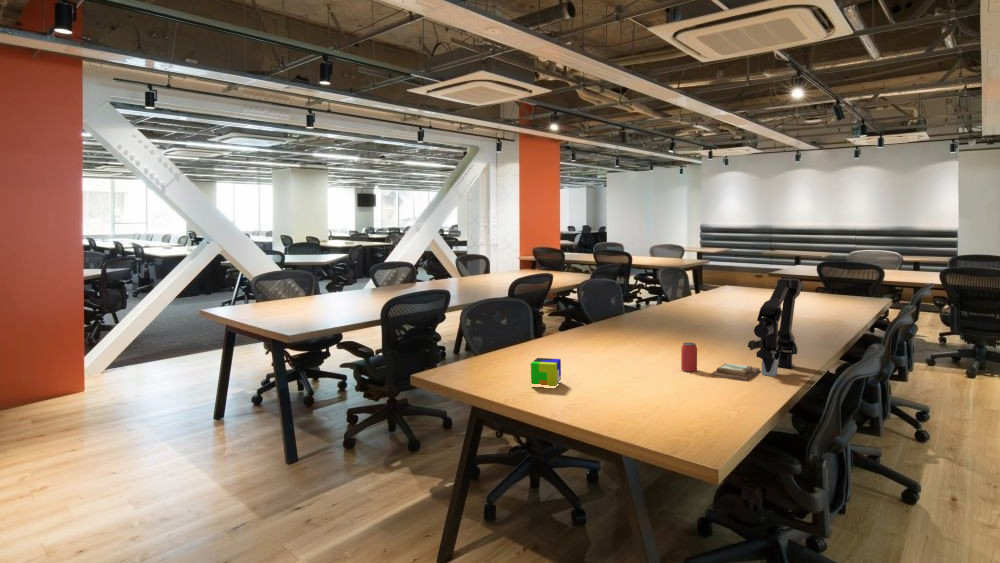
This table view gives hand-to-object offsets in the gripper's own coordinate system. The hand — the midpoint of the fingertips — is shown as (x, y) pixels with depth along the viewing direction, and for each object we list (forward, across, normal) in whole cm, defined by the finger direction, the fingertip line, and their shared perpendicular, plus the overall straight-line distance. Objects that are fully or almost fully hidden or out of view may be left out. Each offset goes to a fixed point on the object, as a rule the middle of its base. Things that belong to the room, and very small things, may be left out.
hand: (769, 370), depth 241 cm
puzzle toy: (+2, +66, -69) cm, 95 cm away
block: (+2, 0, 0) cm, 2 cm away
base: (+2, +6, -12) cm, 14 cm away
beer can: (+2, +12, -30) cm, 32 cm away
